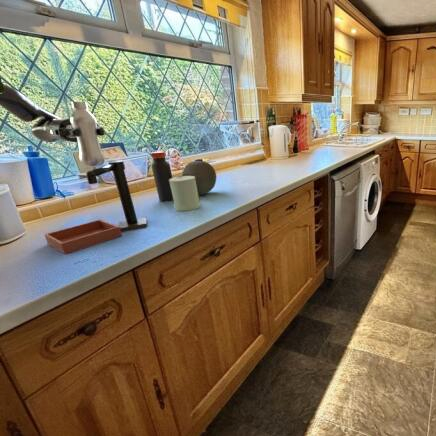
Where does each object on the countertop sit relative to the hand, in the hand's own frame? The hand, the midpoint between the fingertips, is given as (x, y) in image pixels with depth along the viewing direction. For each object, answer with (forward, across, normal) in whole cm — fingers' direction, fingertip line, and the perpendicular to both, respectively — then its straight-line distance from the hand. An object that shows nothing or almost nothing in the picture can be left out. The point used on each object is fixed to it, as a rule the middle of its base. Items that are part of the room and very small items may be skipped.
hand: (89, 132), depth 95 cm
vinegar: (-9, +26, +30) cm, 40 cm away
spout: (+16, -4, +12) cm, 20 cm away
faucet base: (+12, +2, +29) cm, 32 cm away
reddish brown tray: (+11, -12, +30) cm, 34 cm away
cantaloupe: (-1, +38, +29) cm, 48 cm away
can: (+10, +23, +29) cm, 38 cm away
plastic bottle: (-2, 0, +11) cm, 11 cm away
